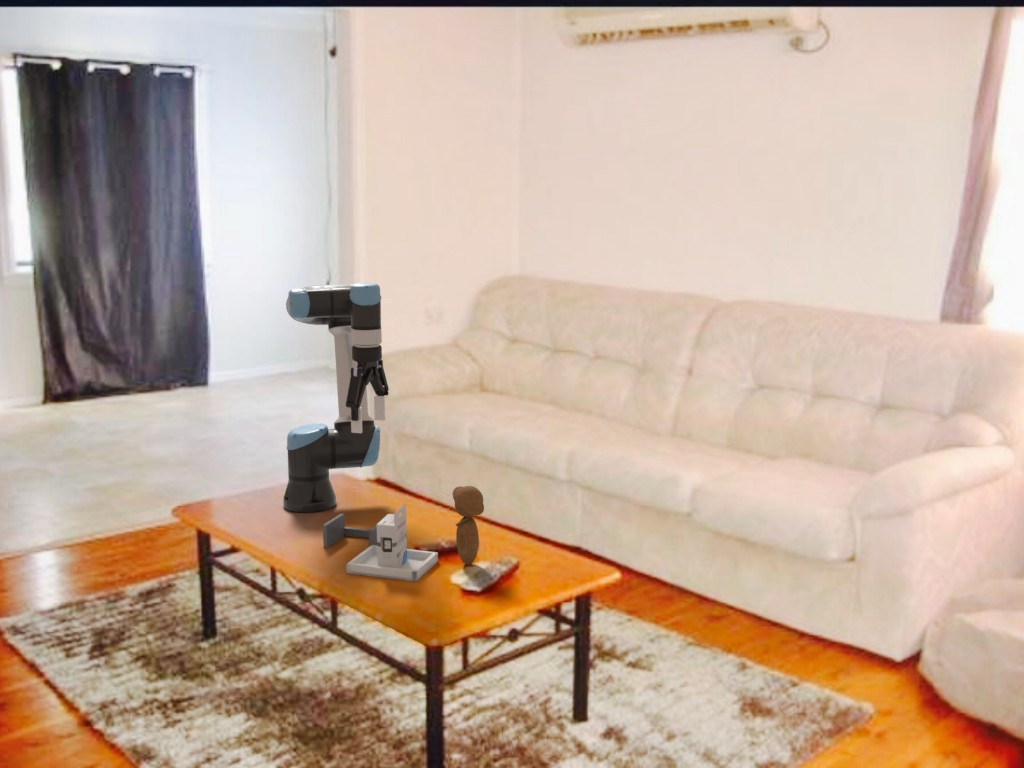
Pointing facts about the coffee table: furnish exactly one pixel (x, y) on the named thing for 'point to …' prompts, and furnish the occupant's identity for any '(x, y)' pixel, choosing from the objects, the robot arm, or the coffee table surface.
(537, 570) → the coffee table surface
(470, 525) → the figurine
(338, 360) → the robot arm
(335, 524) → the bay
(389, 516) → the ink box
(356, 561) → the tray
